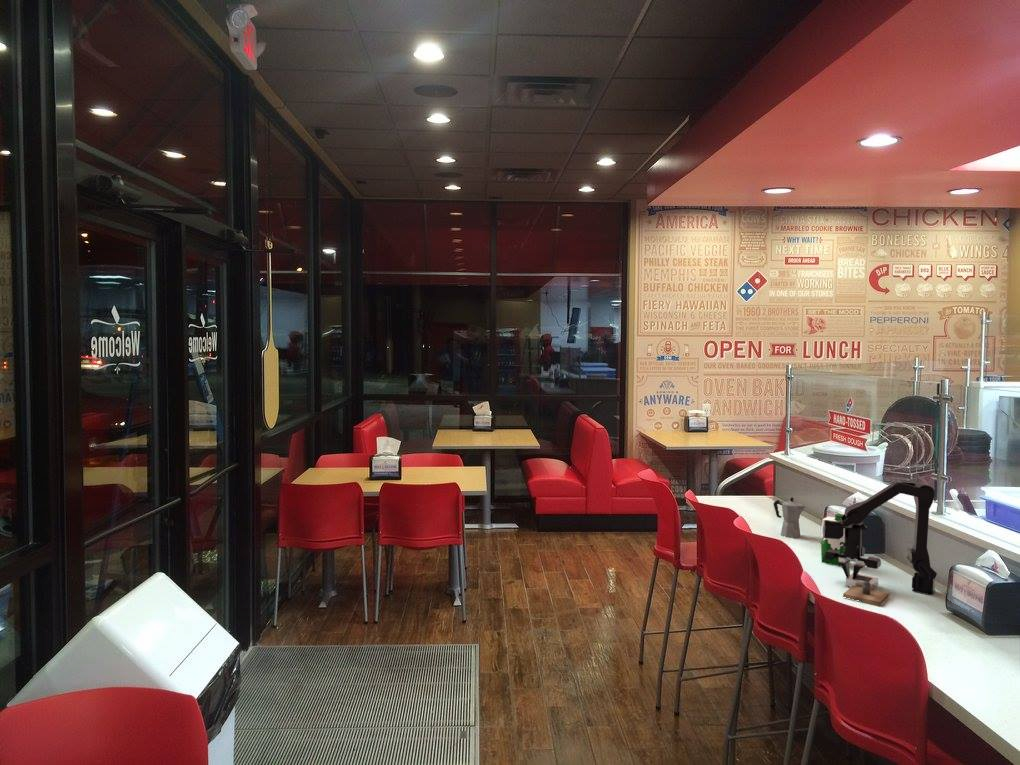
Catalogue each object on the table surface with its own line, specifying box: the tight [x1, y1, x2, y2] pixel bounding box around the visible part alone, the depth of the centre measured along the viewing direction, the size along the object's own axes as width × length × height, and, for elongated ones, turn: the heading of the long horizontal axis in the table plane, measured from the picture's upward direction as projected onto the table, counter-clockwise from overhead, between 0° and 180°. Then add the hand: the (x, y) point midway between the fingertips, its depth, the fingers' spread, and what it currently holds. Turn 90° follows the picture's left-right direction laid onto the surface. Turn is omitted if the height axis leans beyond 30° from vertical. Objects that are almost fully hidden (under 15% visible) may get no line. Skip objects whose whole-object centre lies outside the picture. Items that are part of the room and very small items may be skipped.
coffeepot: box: [773, 497, 807, 539], centre depth 341 cm, size 15×9×18 cm, turn 44°
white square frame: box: [845, 572, 879, 590], centre depth 270 cm, size 9×9×3 cm
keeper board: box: [842, 581, 890, 607], centre depth 258 cm, size 12×12×6 cm
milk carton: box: [820, 513, 845, 567], centre depth 299 cm, size 9×9×20 cm
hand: (851, 581), depth 273 cm, fingers closed on white square frame
